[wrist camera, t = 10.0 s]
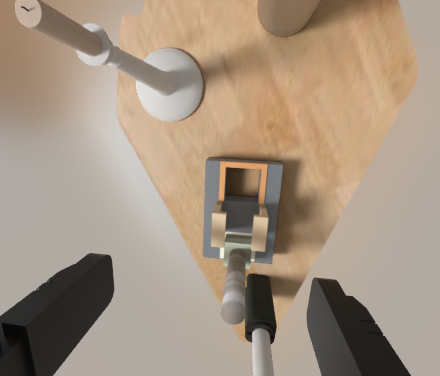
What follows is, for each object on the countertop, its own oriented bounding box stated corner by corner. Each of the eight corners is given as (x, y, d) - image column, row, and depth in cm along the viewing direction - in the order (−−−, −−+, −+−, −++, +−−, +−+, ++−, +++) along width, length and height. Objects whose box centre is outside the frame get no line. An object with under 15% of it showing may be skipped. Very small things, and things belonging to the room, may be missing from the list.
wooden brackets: (217, 200, 44) (212, 213, 37) (265, 203, 43) (268, 217, 37) (216, 229, 46) (210, 246, 39) (262, 233, 45) (264, 251, 38)
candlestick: (125, 68, 44) (-106, -45, 15) (185, 35, 41) (42, -178, 13) (156, 132, 46) (5, 139, 18) (213, 104, 44) (149, 59, 15)
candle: (267, 295, 53) (283, 435, 29) (244, 292, 53) (242, 427, 29) (270, 276, 51) (290, 406, 27) (247, 272, 52) (247, 397, 28)
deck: (209, 157, 46) (205, 160, 42) (280, 161, 45) (283, 165, 41) (206, 247, 51) (202, 257, 47) (270, 253, 50) (272, 264, 46)
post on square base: (226, 233, 46) (213, 295, 29) (251, 235, 45) (254, 300, 28) (224, 256, 47) (212, 328, 30) (249, 258, 46) (251, 333, 29)
